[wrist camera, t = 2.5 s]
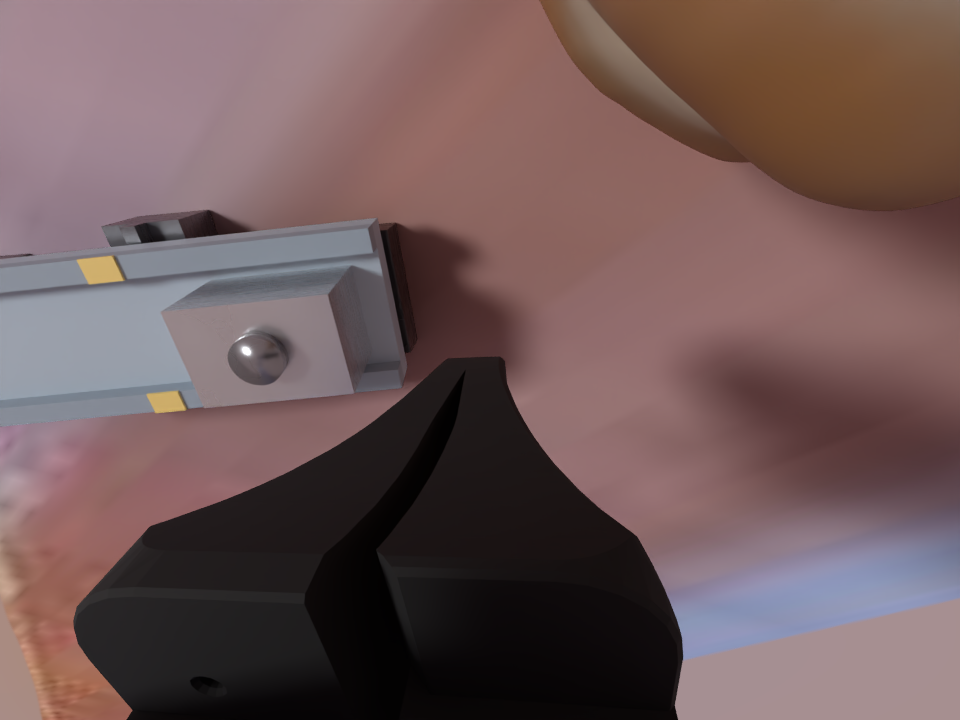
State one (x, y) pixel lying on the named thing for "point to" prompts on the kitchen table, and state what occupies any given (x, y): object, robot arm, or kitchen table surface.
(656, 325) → the kitchen table surface
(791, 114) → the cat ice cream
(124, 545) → the kitchen table surface
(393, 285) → the stand
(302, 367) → the block
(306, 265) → the beam
